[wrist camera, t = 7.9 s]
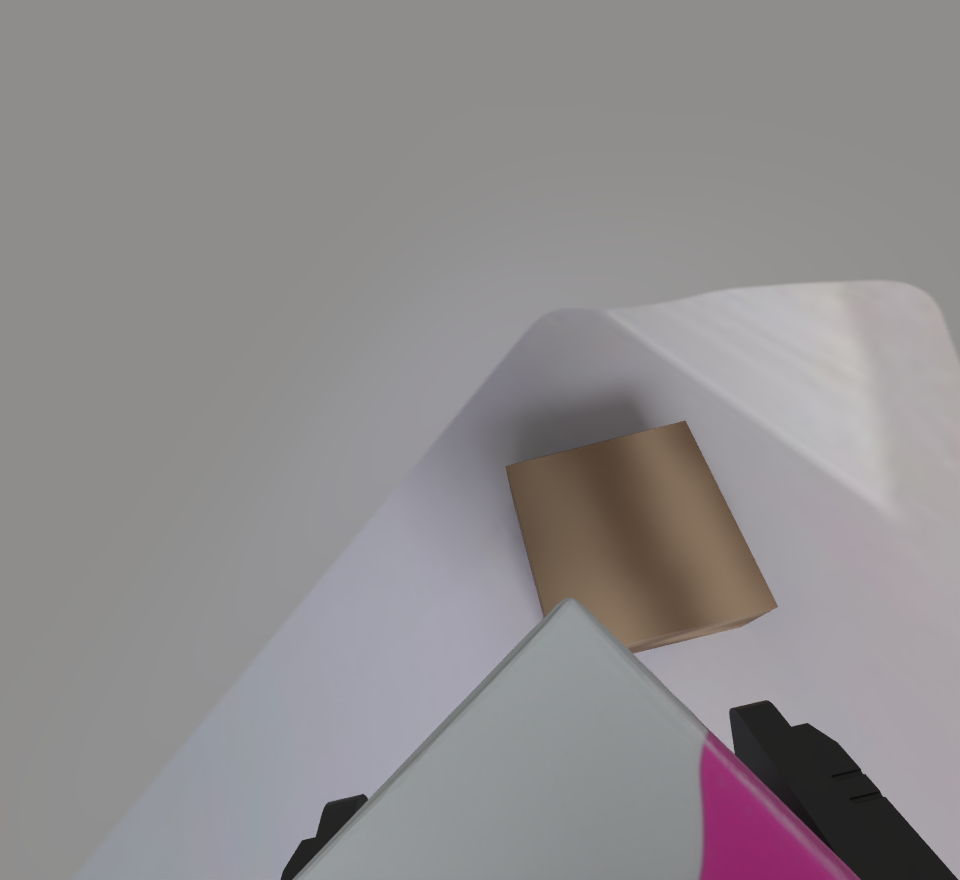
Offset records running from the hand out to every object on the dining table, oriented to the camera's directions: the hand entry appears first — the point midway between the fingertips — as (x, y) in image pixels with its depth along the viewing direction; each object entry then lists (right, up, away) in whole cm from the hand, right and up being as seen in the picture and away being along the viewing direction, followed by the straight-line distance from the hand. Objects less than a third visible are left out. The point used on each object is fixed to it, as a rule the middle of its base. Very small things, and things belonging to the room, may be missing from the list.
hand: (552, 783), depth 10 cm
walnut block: (+7, -1, +22) cm, 24 cm away
